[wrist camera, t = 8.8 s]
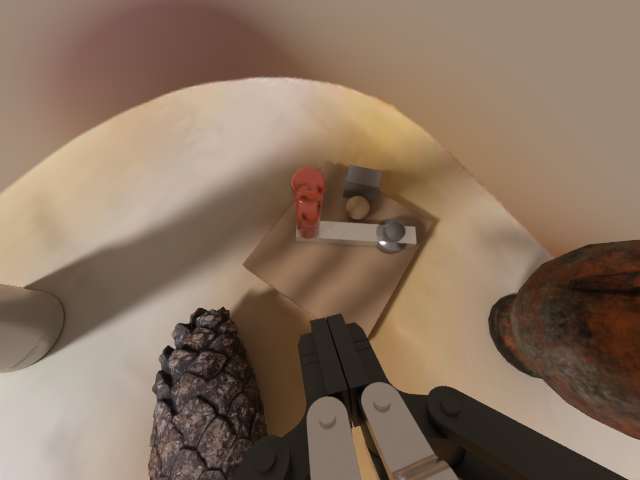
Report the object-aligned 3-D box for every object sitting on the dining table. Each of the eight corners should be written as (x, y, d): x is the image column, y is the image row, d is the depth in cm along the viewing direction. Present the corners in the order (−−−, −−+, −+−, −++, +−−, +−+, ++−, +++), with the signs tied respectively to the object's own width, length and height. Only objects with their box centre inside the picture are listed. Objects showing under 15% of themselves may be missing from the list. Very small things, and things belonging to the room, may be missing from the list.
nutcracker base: (245, 268, 34) (233, 255, 29) (326, 167, 41) (330, 141, 35) (357, 348, 32) (368, 351, 26) (426, 227, 38) (447, 208, 32)
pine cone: (239, 300, 33) (212, 287, 24) (288, 452, 28) (278, 513, 18) (157, 333, 31) (93, 334, 22) (192, 503, 26) (128, 600, 17)
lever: (409, 225, 35) (467, 164, 23) (411, 255, 34) (475, 208, 21) (297, 218, 35) (292, 152, 22) (295, 248, 33) (287, 196, 21)
